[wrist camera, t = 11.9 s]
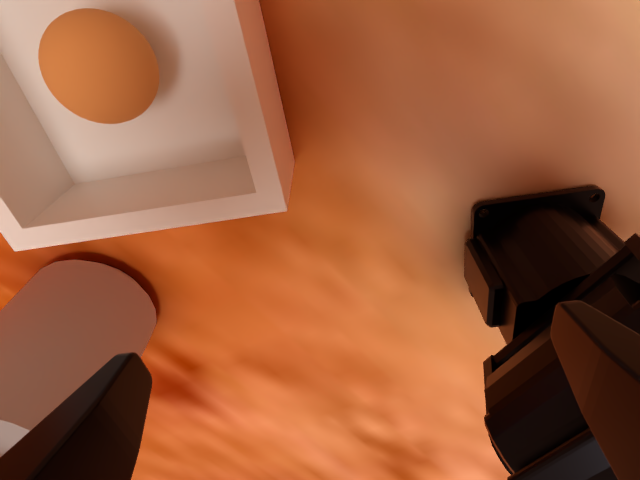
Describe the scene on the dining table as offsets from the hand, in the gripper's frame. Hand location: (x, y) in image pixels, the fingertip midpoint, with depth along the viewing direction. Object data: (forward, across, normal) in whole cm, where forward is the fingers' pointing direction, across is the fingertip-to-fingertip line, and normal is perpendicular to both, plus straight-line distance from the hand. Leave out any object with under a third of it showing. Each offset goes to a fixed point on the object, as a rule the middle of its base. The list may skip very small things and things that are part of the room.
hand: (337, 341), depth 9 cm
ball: (+10, +8, -5) cm, 14 cm away
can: (+13, +16, +8) cm, 22 cm away
